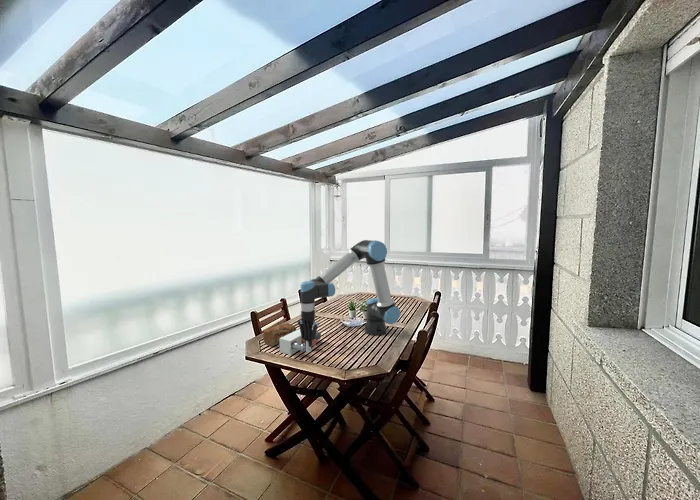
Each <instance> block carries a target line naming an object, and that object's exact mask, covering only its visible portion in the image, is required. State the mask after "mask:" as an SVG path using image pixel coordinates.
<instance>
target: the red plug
mask: <svg viewBox="0 0 700 500" xmlns="http://www.w3.org/2000/svg"><path fill="white" fill-rule="evenodd" d="M301 343H305V340H304V339H302V337H301ZM316 345H317V340H316V338H315V339H314V340H313V341H312V346H311V347H316Z"/></svg>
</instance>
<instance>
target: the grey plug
mask: <svg viewBox="0 0 700 500" xmlns="http://www.w3.org/2000/svg"><path fill="white" fill-rule="evenodd" d="M321 337H322V333H321V332H320V331H317V332H316V337H315V338H316V341H320V340H321Z"/></svg>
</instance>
